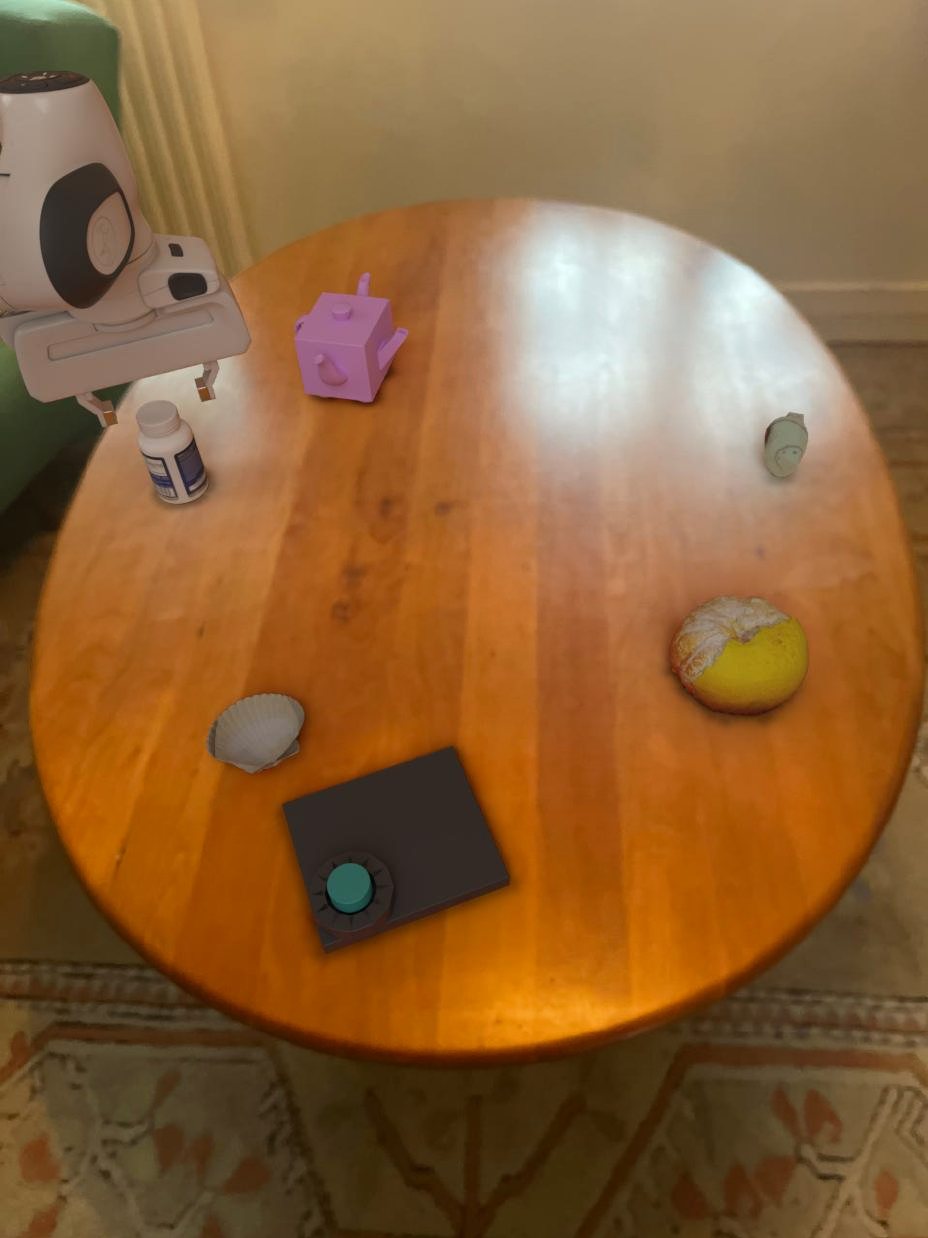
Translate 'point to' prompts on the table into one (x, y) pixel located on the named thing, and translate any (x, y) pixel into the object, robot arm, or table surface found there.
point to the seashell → (257, 732)
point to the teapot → (347, 344)
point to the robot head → (785, 443)
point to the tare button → (349, 887)
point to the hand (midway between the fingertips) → (159, 409)
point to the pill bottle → (170, 453)
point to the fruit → (740, 655)
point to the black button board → (395, 845)
